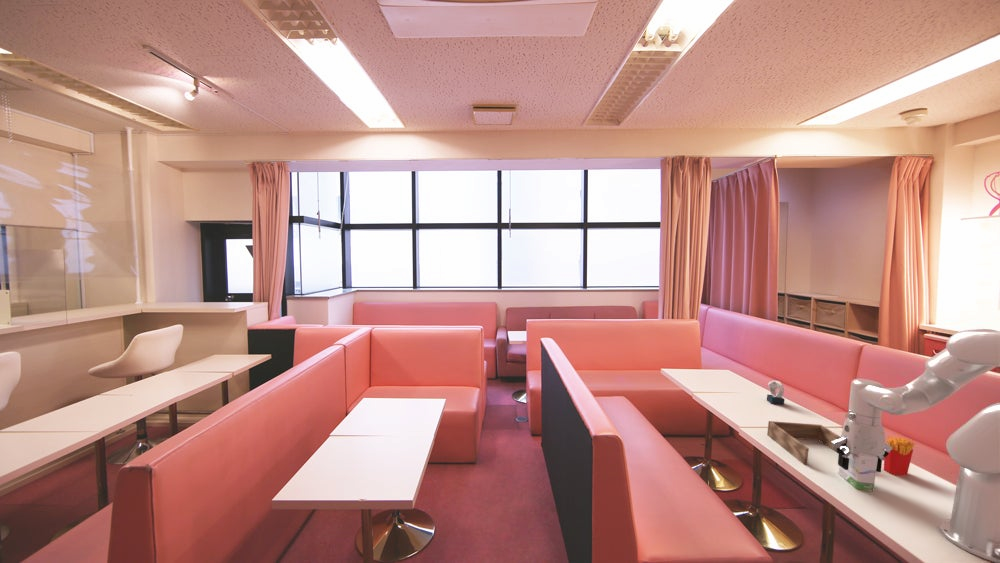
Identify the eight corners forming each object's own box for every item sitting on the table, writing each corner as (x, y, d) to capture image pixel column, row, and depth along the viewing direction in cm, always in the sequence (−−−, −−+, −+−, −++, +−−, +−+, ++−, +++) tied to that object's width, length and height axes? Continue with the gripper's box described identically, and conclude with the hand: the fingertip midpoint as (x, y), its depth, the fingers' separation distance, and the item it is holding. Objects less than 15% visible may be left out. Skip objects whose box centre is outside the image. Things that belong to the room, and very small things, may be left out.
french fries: (890, 475, 122) (895, 442, 121) (877, 468, 126) (882, 435, 125) (914, 475, 122) (919, 442, 121) (901, 468, 126) (906, 436, 125)
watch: (776, 399, 183) (778, 379, 182) (786, 406, 175) (788, 385, 174) (764, 398, 184) (766, 378, 183) (773, 405, 176) (775, 383, 175)
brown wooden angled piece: (864, 469, 125) (867, 453, 125) (803, 464, 127) (805, 448, 126) (819, 438, 145) (821, 424, 144) (767, 435, 147) (768, 421, 146)
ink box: (874, 492, 113) (879, 457, 112) (856, 489, 114) (860, 454, 113) (854, 475, 122) (858, 442, 120) (837, 473, 123) (841, 440, 121)
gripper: (845, 421, 113) (840, 473, 114) (905, 425, 111) (899, 477, 112) (825, 411, 120) (821, 460, 121) (881, 414, 119) (876, 464, 120)
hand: (858, 468), depth 117 cm, fingers open, 9 cm apart
